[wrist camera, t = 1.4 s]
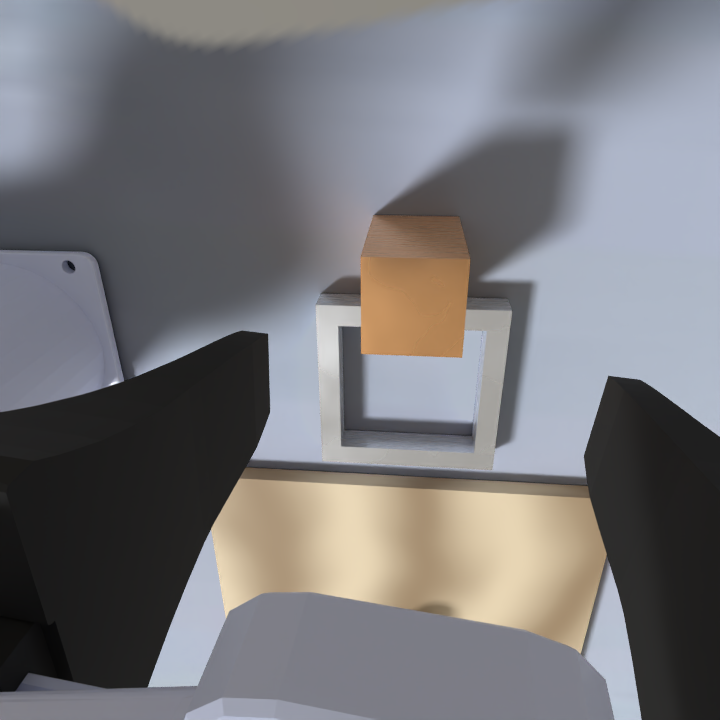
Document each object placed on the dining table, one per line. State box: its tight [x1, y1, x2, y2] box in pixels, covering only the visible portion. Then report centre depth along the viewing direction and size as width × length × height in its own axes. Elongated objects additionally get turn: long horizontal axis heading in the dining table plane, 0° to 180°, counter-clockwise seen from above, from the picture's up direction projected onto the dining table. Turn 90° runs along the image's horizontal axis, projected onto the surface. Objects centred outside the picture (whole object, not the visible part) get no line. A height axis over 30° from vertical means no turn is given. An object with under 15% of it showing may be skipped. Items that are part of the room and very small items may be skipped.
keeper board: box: [211, 467, 607, 654], centre depth 27 cm, size 18×14×4 cm
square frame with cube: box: [316, 215, 512, 470], centre depth 20 cm, size 10×7×5 cm
